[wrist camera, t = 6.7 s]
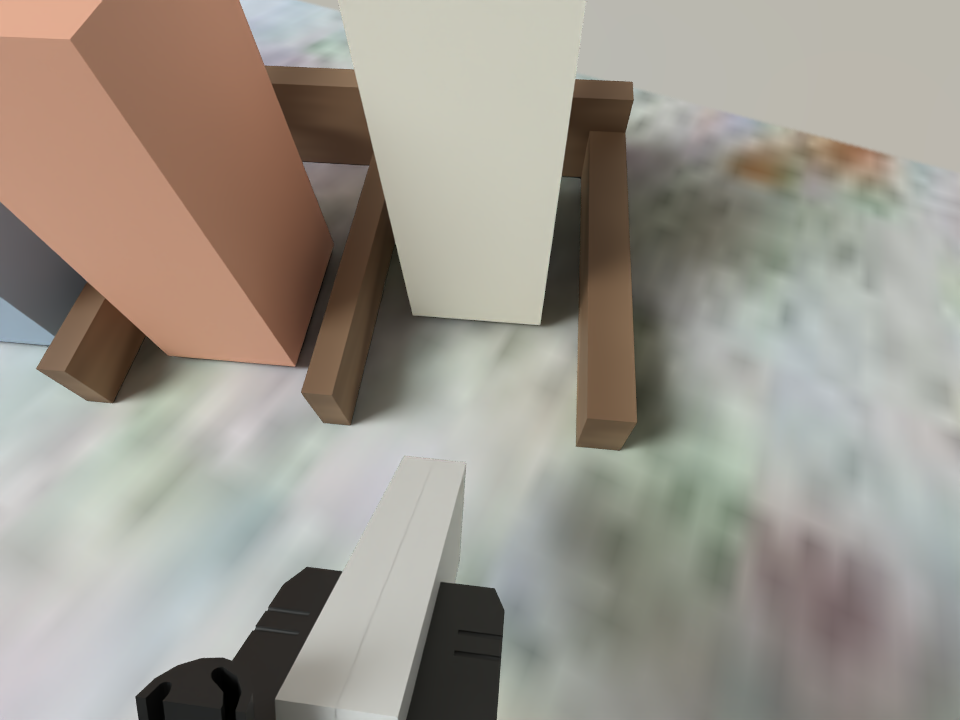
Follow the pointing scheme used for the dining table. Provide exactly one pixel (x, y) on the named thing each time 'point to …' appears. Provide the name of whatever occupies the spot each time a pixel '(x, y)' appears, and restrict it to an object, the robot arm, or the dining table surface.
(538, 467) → the dining table surface
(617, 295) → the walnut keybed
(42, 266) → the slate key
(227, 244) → the pink rectangular block
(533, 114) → the ivory key
